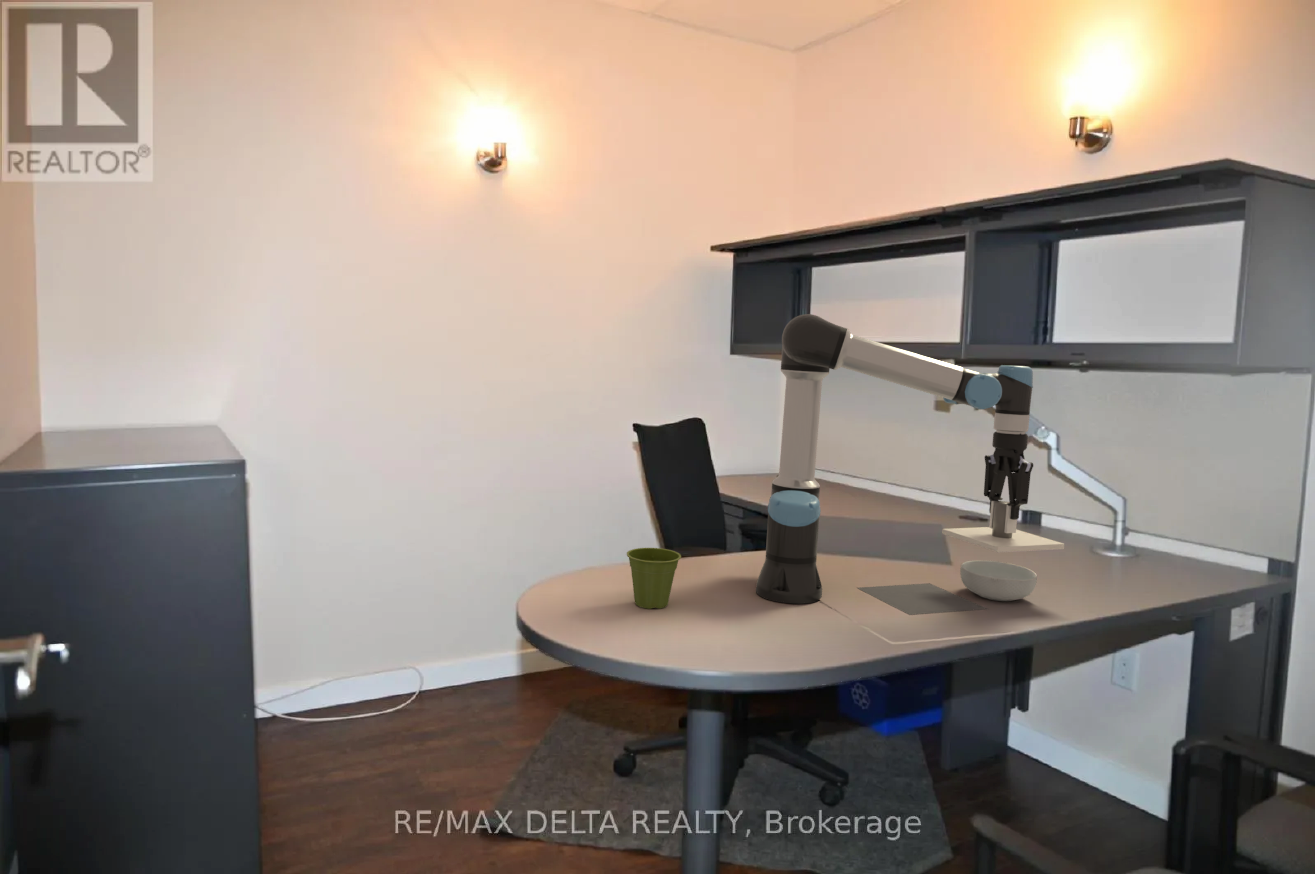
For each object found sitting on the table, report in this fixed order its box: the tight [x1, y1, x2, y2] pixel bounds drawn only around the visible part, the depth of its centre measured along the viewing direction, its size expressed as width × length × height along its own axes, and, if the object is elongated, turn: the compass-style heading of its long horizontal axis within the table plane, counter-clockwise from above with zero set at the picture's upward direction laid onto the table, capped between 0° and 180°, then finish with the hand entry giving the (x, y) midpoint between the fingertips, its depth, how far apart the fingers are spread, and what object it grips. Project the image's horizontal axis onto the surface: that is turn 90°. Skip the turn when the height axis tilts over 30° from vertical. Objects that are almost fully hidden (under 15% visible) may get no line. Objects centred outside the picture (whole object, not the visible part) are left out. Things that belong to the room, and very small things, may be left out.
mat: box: [857, 582, 988, 616], centre depth 200 cm, size 21×21×1 cm
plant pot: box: [626, 547, 682, 610], centre depth 186 cm, size 12×12×11 cm
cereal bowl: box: [959, 560, 1038, 602], centre depth 204 cm, size 17×17×7 cm
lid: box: [941, 500, 1065, 553], centre depth 203 cm, size 19×19×9 cm
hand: (1002, 530), depth 203 cm, fingers closed on lid, 4 cm apart
